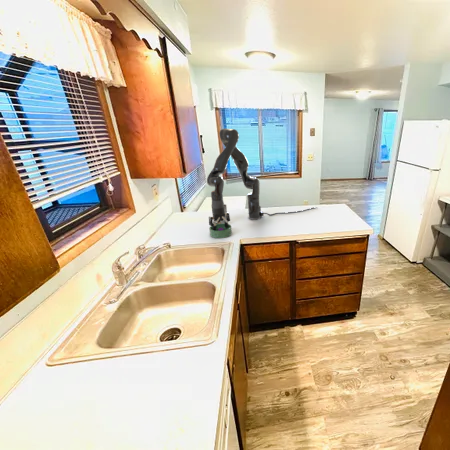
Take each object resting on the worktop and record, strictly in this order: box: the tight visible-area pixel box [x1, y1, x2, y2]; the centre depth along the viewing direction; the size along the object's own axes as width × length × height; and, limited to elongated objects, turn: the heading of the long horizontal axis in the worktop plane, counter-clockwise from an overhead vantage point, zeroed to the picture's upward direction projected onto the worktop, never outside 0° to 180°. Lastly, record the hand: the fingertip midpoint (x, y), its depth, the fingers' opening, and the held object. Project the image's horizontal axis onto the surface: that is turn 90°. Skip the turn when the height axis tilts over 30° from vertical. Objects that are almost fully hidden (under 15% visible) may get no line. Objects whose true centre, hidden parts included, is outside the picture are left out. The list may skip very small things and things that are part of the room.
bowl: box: [208, 223, 233, 239], centre depth 162 cm, size 14×14×6 cm
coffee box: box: [211, 203, 228, 224], centre depth 178 cm, size 9×6×16 cm
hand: (220, 229), depth 162 cm, fingers open, 8 cm apart
